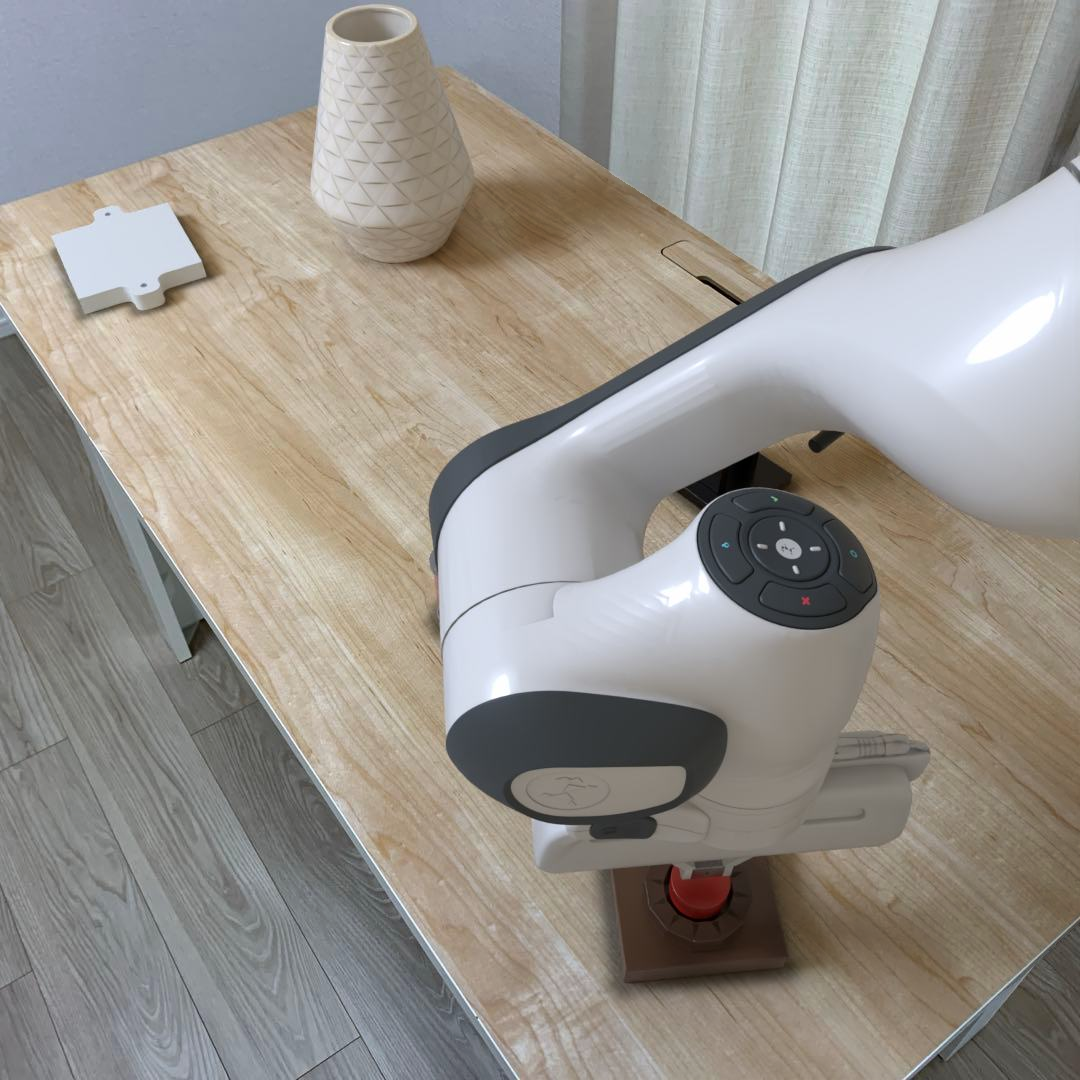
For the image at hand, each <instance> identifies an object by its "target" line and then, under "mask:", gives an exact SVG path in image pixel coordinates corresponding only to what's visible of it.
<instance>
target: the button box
mask: <svg viewBox="0 0 1080 1080" xmlns="http://www.w3.org/2000/svg"><path fill="white" fill-rule="evenodd" d="M673 866H674V865H673V864H663V865H651V866H639V867H628V868H616V869H608V872H609V881H610V887H611V897H612V903H613V911H614V918H615V919H614V920H615V927H616V934H617V939H618V941H617V942H618V949H619V956H620V964H621V971H622V980H623V983H634V982H645V981H656V980H657V981H658V980H668V979H677V978H689V977H691V978H692V977H701V976H710V975H720V974H733V973H743V972H755V971H766V970H776V969H783V968H784V966H785V964H786V962H787V960H788V958H789V952H788V948H787V944H786V940H785V936H784V930H783V926H782V923H781V918H780V913H779V909H778V905H777V900H776V897H775V891H774V887H773V883H772V878H771V875H770V870H769V867H768V861H767V858H766V856H756V857H752V858H750V859H748V860H746V861H744V862H742V863H740V864H738V865H736V866H734V867H733V870H732V873H731V875H730V881H731V885H730V890H729V894H728V897H727V900H726V903H725V905H724V907H723V908H722V909H721V911H720V912H719V913H717V914H716V915H714V916H712V917H710V918H706V919H695V918H691V917H688V916H686V915H684V914H683V913H682V912H680V911H679V910H678V909H677V908H676V907H675V905H674V904H673V902H672V900H671V898H670V894H669V882H670V877H671V872H672V869H673Z"/></svg>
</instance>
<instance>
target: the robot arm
mask: <svg viewBox="0 0 1080 1080" xmlns="http://www.w3.org/2000/svg"><path fill="white" fill-rule="evenodd" d="M1069 166H1070V168H1071V170H1072V173H1073V174H1074V175H1073V174H1072V173H1071V172H1070V170H1069V169H1068V168H1067V167H1066V166H1060V168H1058V169H1057V170H1056V171H1054V172H1052V173H1051V174H1050V175H1048V176H1047V177H1045V178H1043V179H1042V180H1041V181H1039V182H1037V183H1036V184H1035V185H1033V186H1030V187H1029V188H1028V189H1026V190H1024V191H1023V192H1021V193H1019V194H1017V195H1016V196H1014V197H1013V198H1011V199H1009V200H1007V201H1006V202H1004V203H1002V204H1000V205H999V206H997V207H995V208H992V209H991V210H990V211H987V212H985V213H984V214H983V213H982V215H979V216H977V217H975V218H974V219H971V220H969V221H968V222H965V223H963V224H961V225H958V226H956V227H954V228H951V229H949V230H946V231H944V232H942V233H940V234H936V235H934V236H932V237H929V238H926V239H923V240H920V241H917V242H914V243H911V244H907V245H903V246H900V247H897V246H891V245H872V246H867V247H860V248H857V249H853V250H850V251H846V252H843V253H840V254H837V255H834V256H832V257H829V258H827V259H825V260H822V261H820V262H818V263H816V264H813V265H811V266H809V267H807V268H805V269H803V270H801V271H799V272H797V273H795V274H793V275H791V276H789V277H787V278H785V279H783V280H781V281H779V282H778V283H775V284H774V285H772V286H769V287H768V288H766V289H764V290H763V291H760V292H759V293H757V294H755V295H754V296H751V297H750V298H748V299H746V300H745V301H743V302H742V303H739V304H738V305H736V306H734V307H732V308H731V309H729V310H728V311H725V312H724V313H723V314H721V315H718V316H717V317H715V318H714V319H712V320H710V321H709V322H707V323H705V324H703V325H702V326H700V327H698V328H697V329H694V330H693V331H691V332H690V333H688V334H685V336H683V337H681V338H680V339H678V340H676V341H674V342H673V343H671V344H669V345H667V346H666V347H664V348H662V349H661V350H659V351H657V352H656V353H654V354H652V355H650V356H648V357H647V358H646V359H643V360H641V361H640V362H638V363H637V364H635V365H634V366H632V367H630V368H628V369H626V370H625V371H623V372H622V373H619V374H618V375H616V376H615V377H613V378H611V379H610V380H608V381H606V382H605V383H603V384H601V385H600V386H598V387H596V388H594V389H592V390H590V391H589V392H587V393H585V394H583V395H581V396H579V397H577V398H576V399H574V400H571V401H568V402H567V403H565V404H563V405H560V406H558V407H555V408H553V409H551V410H550V409H549V410H547V411H544V412H543V413H540V414H536V415H534V416H531V417H528V418H525V419H522V420H519V421H515V422H512V423H510V424H507V425H504V426H502V427H500V428H497V429H494V430H493V431H490V432H489V433H486V434H484V435H483V436H481V437H479V438H477V439H475V440H474V441H473V442H470V443H469V444H468V445H467V446H465V447H464V448H462V449H461V450H460V451H459V452H458V453H456V454H455V455H454V456H453V457H452V458H451V459H450V460H449V461H448V462H447V463H446V465H445V466H444V467H443V468H442V470H441V471H440V473H439V474H438V476H437V478H436V479H435V481H434V483H433V486H432V487H431V491H430V495H429V498H428V500H429V501H428V521H429V526H430V527H429V528H430V533H431V540H432V548H433V550H434V556H435V563H436V568H437V572H438V582H439V615H440V624H439V641H440V643H439V645H440V646H439V647H440V657H441V663H442V682H443V683H442V684H443V685H442V686H443V704H444V719H445V720H444V722H445V724H444V726H445V736H446V738H445V750H446V753H447V756H448V758H449V760H450V761H451V762H452V764H453V765H454V766H455V768H456V769H457V770H458V771H459V773H461V775H462V776H463V777H464V778H465V779H466V780H467V781H468V782H469V783H470V784H471V785H473V786H474V787H475V788H477V789H478V790H479V791H481V792H482V793H484V794H485V795H486V796H488V797H490V798H491V799H493V800H495V801H496V802H498V803H499V804H501V805H503V806H505V807H507V808H509V809H511V810H514V811H515V812H517V813H519V814H521V815H524V816H526V817H528V818H530V822H531V836H532V848H533V849H532V851H533V858H534V865H535V866H536V868H537V869H539V870H540V871H543V872H546V873H547V874H552V875H553V874H554V875H558V874H559V875H560V874H567V873H568V874H569V873H579V872H591V871H602V870H603V871H604V870H609V869H616V868H628V867H639V866H651V865H663V864H673V865H674V866H676V867H678V868H679V869H680V875H681V878H682V880H684V879H696V878H705V877H716V876H730V875H731V873H732V870H733V867H734V866H736V865H738V864H740V863H742V862H744V861H746V860H748V859H750V858H752V857H756V856H765V857H766V856H767V857H769V856H778V855H780V856H781V855H790V854H801V853H802V854H803V853H812V852H813V853H815V852H825V851H835V850H848V849H849V850H850V849H860V848H874V847H881V846H883V845H886V844H888V843H890V842H893V841H894V840H896V839H898V838H900V837H901V835H902V834H903V832H904V830H905V828H906V825H907V823H908V820H909V817H910V813H911V811H912V810H911V809H912V804H913V794H914V793H913V790H912V786H911V782H914V781H915V780H917V779H918V778H919V777H921V776H922V775H923V774H924V772H925V771H926V768H927V766H928V765H929V764H930V762H931V749H930V747H929V746H928V745H927V743H926V742H925V741H920V740H916V739H915V740H913V739H910V738H909V736H908V735H907V734H904V733H893V732H892V733H887V732H885V731H881V730H855V731H854V730H853V731H843V730H844V729H845V727H846V726H847V724H848V723H849V722H850V720H851V718H852V715H853V713H854V711H855V708H856V706H857V703H858V701H859V700H860V696H861V693H862V692H863V688H864V686H865V683H866V681H867V677H868V674H869V671H870V668H871V665H872V661H873V657H874V655H875V654H874V653H875V650H876V645H877V640H878V634H879V629H880V618H881V603H882V601H881V588H880V584H879V579H878V575H877V572H876V569H875V568H874V565H873V563H872V560H871V559H870V556H869V555H868V553H867V552H866V550H865V548H864V546H863V544H862V543H861V542H860V541H861V540H860V539H859V538H858V537H857V536H856V534H855V533H854V532H852V530H851V529H850V528H849V527H848V526H847V525H846V524H845V523H844V522H843V521H842V520H841V519H839V518H838V517H837V516H836V515H834V514H833V513H832V512H830V511H829V510H828V509H826V508H824V507H823V506H821V505H820V504H818V503H816V502H814V501H812V500H810V499H808V498H806V497H804V496H801V495H798V494H796V493H793V492H789V491H786V490H777V489H770V488H745V489H739V490H735V491H731V492H728V493H726V494H724V495H721V496H719V497H718V498H716V499H714V500H713V501H712V502H710V503H709V504H708V505H707V506H706V507H705V508H704V509H703V510H701V511H699V513H697V515H696V516H695V517H694V519H693V520H692V521H691V522H690V524H688V526H687V527H686V528H685V529H684V530H683V531H682V532H681V533H680V534H679V535H678V536H677V537H676V538H674V539H673V540H671V541H670V542H669V543H667V544H666V545H665V546H663V547H661V548H660V549H658V550H656V551H655V552H653V553H652V554H650V555H649V556H646V557H645V553H644V543H645V537H646V536H645V535H646V532H647V528H648V524H649V522H650V519H651V517H652V514H653V513H654V511H655V510H656V508H657V507H658V506H659V504H660V503H661V502H662V501H663V499H665V498H666V497H668V496H669V495H672V494H674V493H677V492H676V491H678V490H680V489H682V488H684V487H686V486H688V485H690V484H692V483H694V482H697V481H699V480H701V479H703V478H705V477H707V476H709V475H711V474H713V473H715V472H717V471H719V470H721V469H724V468H726V467H728V466H730V465H732V464H734V463H736V462H738V461H740V460H742V459H744V458H746V457H748V456H751V455H753V454H755V453H757V452H759V453H760V452H761V451H763V450H765V449H767V448H769V447H772V446H774V445H775V444H776V445H777V444H778V443H780V442H781V441H783V440H787V439H789V438H791V437H794V436H796V435H801V434H806V433H809V432H821V430H828V431H839V432H844V433H845V434H847V435H848V434H849V435H850V436H854V437H856V438H858V439H860V440H862V441H865V442H866V443H867V444H869V445H870V446H872V447H873V448H874V449H876V450H877V451H878V452H880V453H881V454H882V455H883V456H885V457H886V458H887V460H889V461H890V462H891V463H893V464H894V465H895V466H897V467H898V468H899V469H900V470H901V471H902V472H904V473H906V474H907V475H908V476H909V477H910V478H912V479H913V480H914V481H915V482H917V483H918V484H919V485H921V487H923V488H924V489H925V490H927V491H929V492H930V494H933V495H934V496H935V497H937V498H938V499H939V500H941V501H943V503H945V504H947V505H948V506H950V507H952V508H953V509H955V510H957V511H959V512H961V513H963V514H964V515H967V516H968V517H971V518H973V519H975V520H977V521H979V522H982V523H984V524H987V525H988V526H989V525H990V526H993V527H995V528H999V529H1001V530H1004V531H1008V532H1012V533H1016V534H1020V535H1023V536H1030V537H1035V538H1041V539H1048V540H1062V541H1080V154H1079V155H1078V156H1076V157H1075V158H1073V159H1071V160H1070V161H1069ZM1075 177H1076V178H1075Z"/></svg>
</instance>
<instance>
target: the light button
mask: <svg viewBox="0 0 1080 1080" xmlns="http://www.w3.org/2000/svg"><path fill="white" fill-rule="evenodd" d="M730 885H731V881H730V876H716V877H705V878H696V879H684V880H682V878H681V875H680V869H679V868H678V867H676V866H673V869H672V872H671V877H670V882H669V894H670V898H671V900H672V902H673V904H674V905H675V907H676V908H677V909H678V910H679V911H680V912H682V913H683V914H684V915H686V916H688V917H691V918H695V919H706V918H710V917H712V916H714V915H716V914H717V913H719V912H720V911H721V909H722V908H723V907H724V905H725V903H726V900H727V897H728V894H729V890H730Z"/></svg>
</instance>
